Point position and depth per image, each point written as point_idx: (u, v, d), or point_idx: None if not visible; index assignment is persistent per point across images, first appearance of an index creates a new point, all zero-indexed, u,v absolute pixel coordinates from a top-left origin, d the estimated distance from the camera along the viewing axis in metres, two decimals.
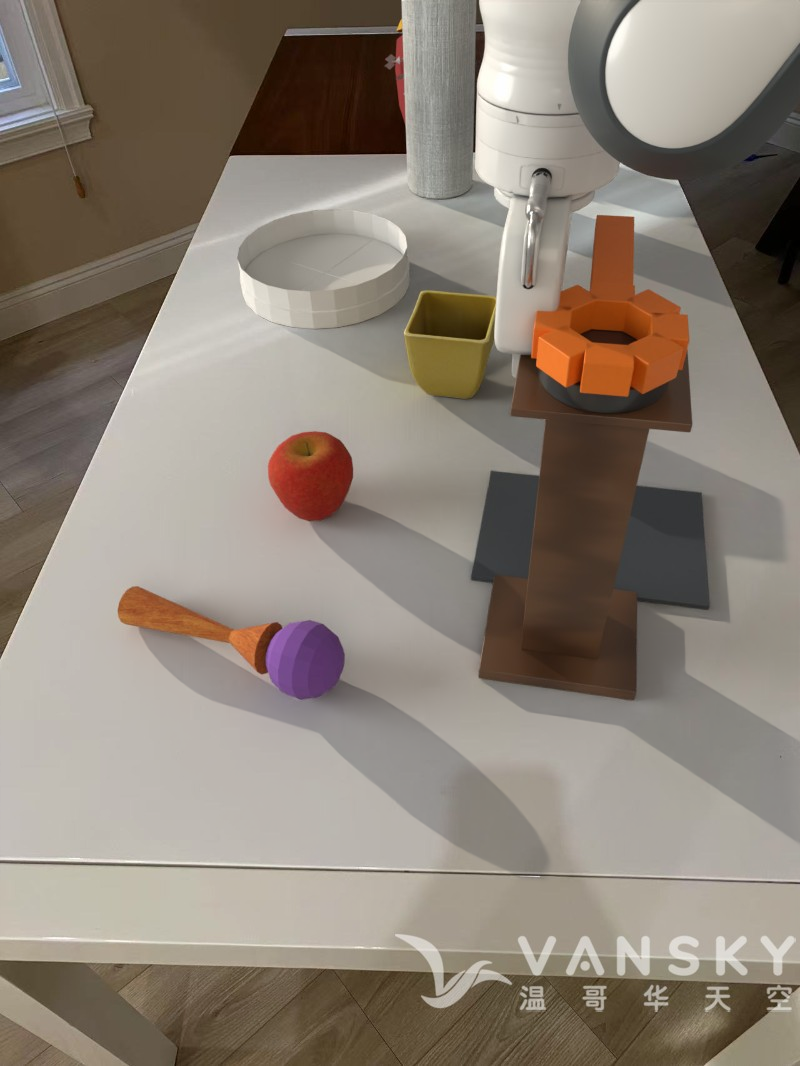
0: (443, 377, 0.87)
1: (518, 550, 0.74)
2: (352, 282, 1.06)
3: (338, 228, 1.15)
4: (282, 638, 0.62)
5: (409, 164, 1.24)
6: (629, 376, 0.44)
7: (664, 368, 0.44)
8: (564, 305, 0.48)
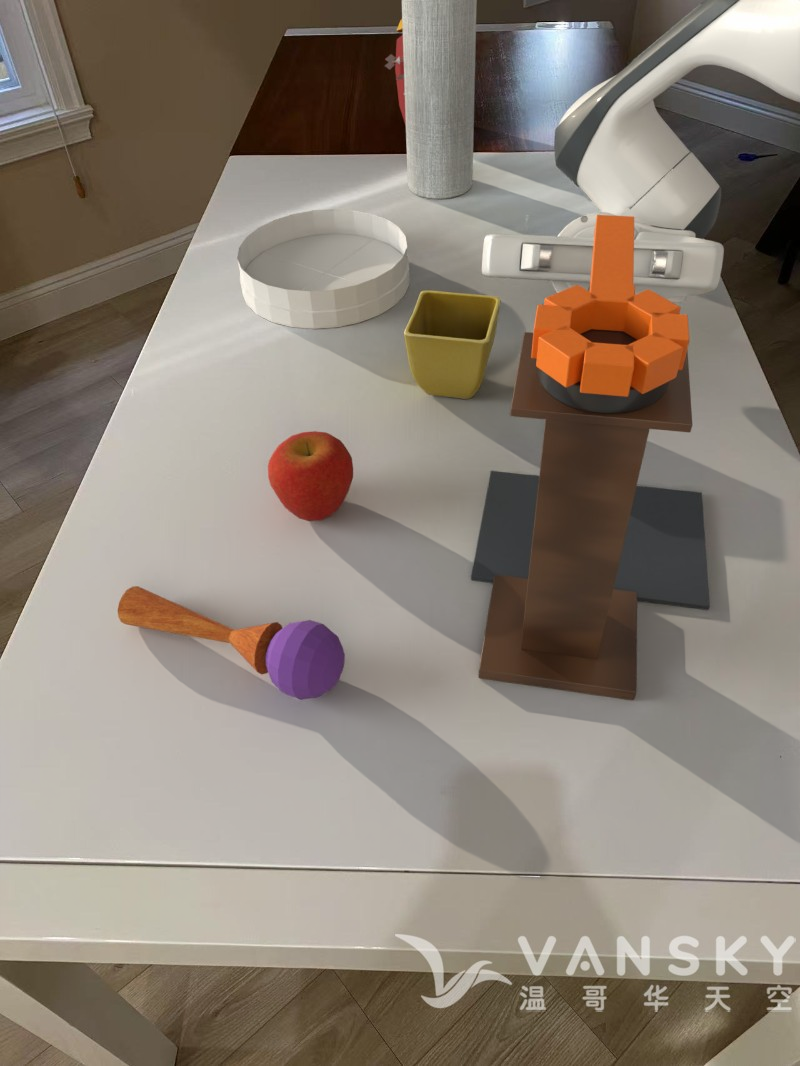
0: (443, 377, 0.87)
1: (518, 550, 0.74)
2: (352, 282, 1.06)
3: (338, 228, 1.15)
4: (282, 638, 0.62)
5: (409, 164, 1.24)
6: (629, 376, 0.44)
7: (664, 368, 0.44)
8: (564, 305, 0.48)
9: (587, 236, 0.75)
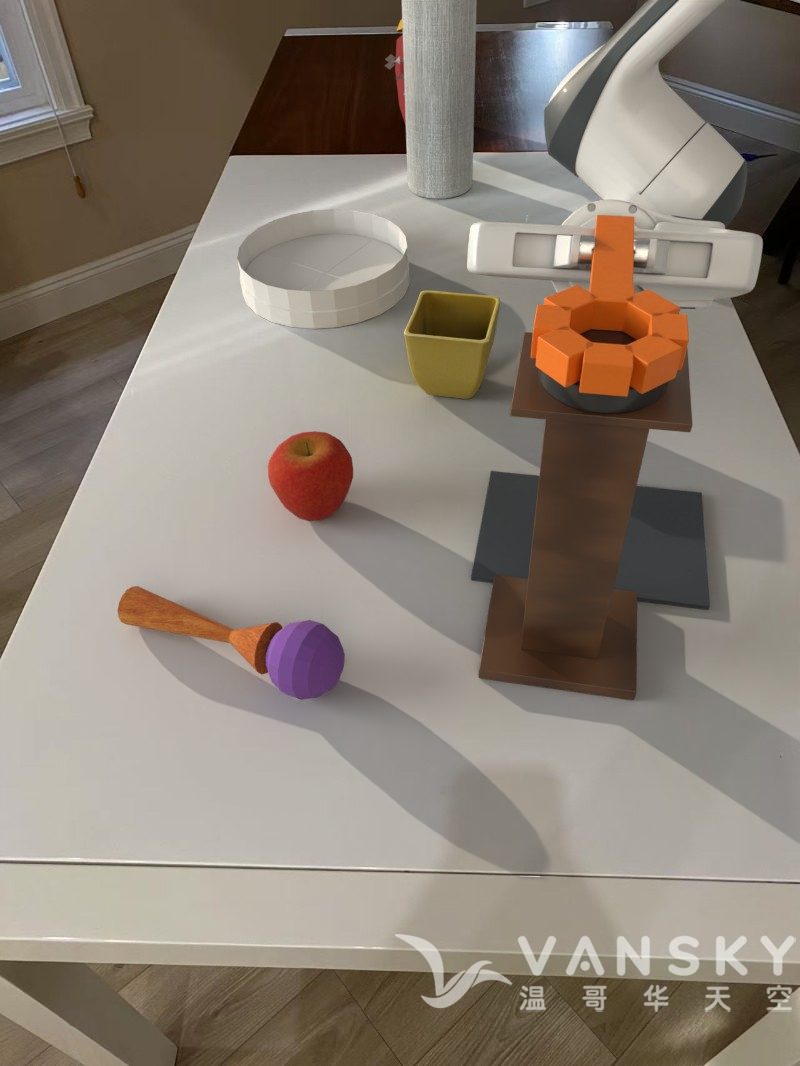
0: (443, 377, 0.87)
1: (518, 550, 0.74)
2: (352, 282, 1.06)
3: (338, 228, 1.15)
4: (282, 638, 0.62)
5: (409, 164, 1.24)
6: (628, 376, 0.44)
7: (663, 368, 0.44)
8: (564, 305, 0.48)
9: None
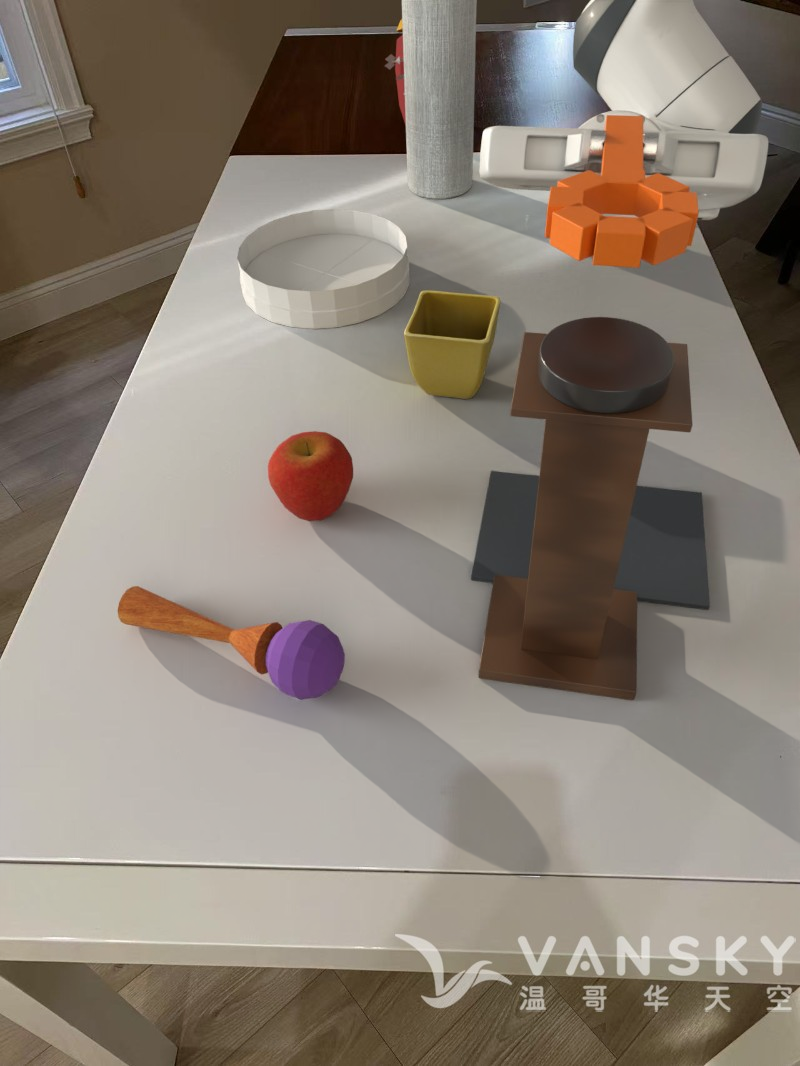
0: (443, 377, 0.87)
1: (518, 550, 0.74)
2: (352, 282, 1.06)
3: (338, 228, 1.15)
4: (282, 638, 0.62)
5: (409, 164, 1.24)
6: (640, 245, 0.45)
7: (674, 239, 0.46)
8: (577, 187, 0.49)
9: None
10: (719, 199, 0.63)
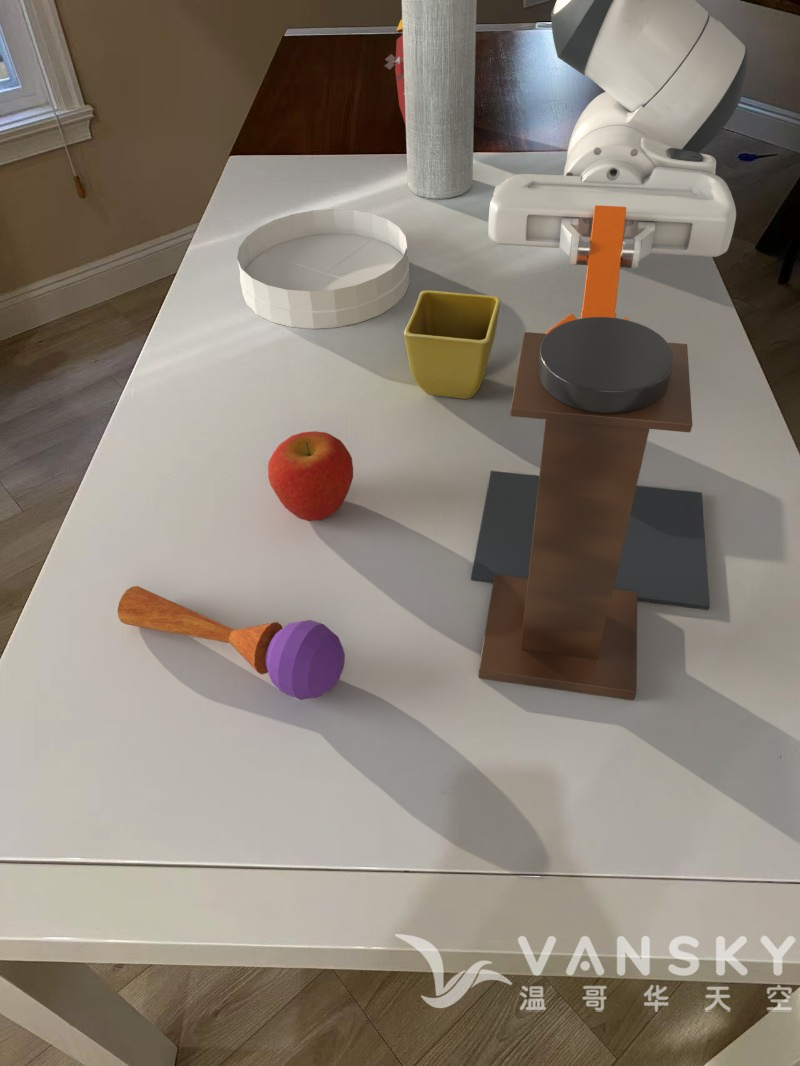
0: (443, 377, 0.87)
1: (518, 550, 0.74)
2: (352, 282, 1.06)
3: (338, 228, 1.15)
4: (282, 638, 0.62)
5: (409, 164, 1.24)
6: None
7: None
8: None
9: (599, 177, 0.72)
10: None
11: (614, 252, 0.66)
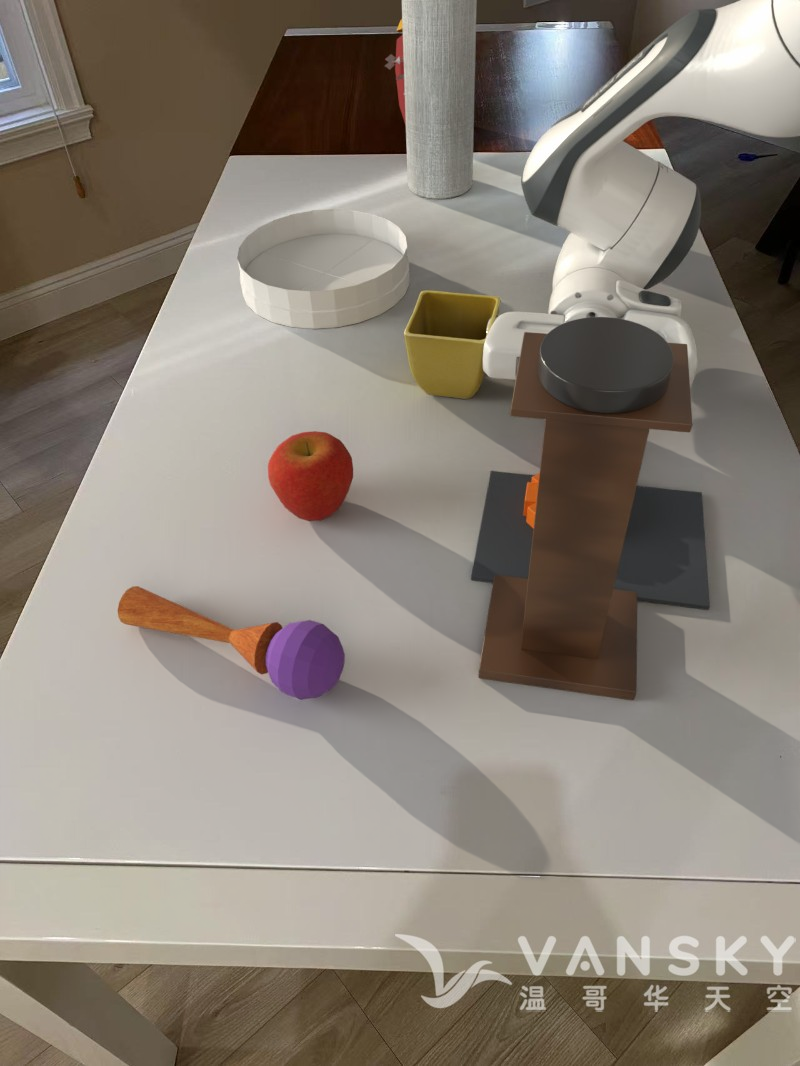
0: (443, 377, 0.87)
1: (518, 550, 0.74)
2: (352, 282, 1.06)
3: (338, 228, 1.15)
4: (282, 638, 0.62)
5: (409, 164, 1.24)
6: None
7: None
8: None
9: None
10: None
11: None
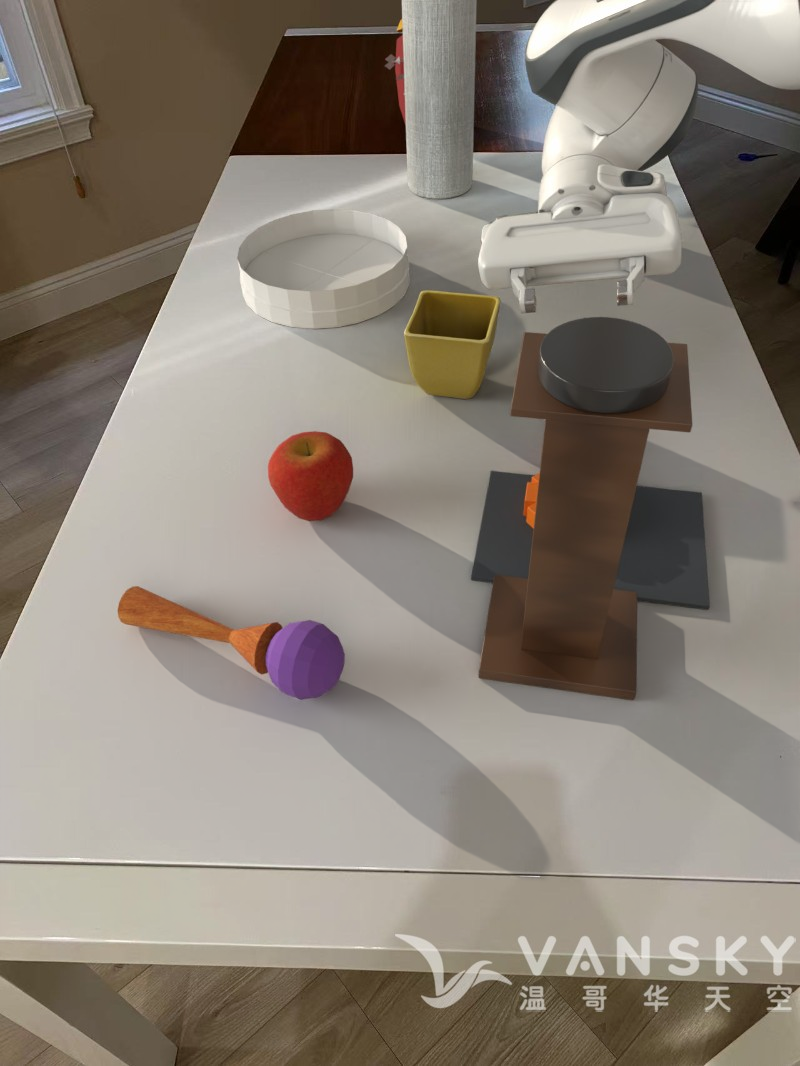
0: (443, 377, 0.87)
1: (518, 550, 0.74)
2: (352, 282, 1.06)
3: (338, 228, 1.15)
4: (282, 638, 0.62)
5: (409, 164, 1.24)
6: None
7: None
8: None
9: (566, 215, 0.85)
10: None
11: None
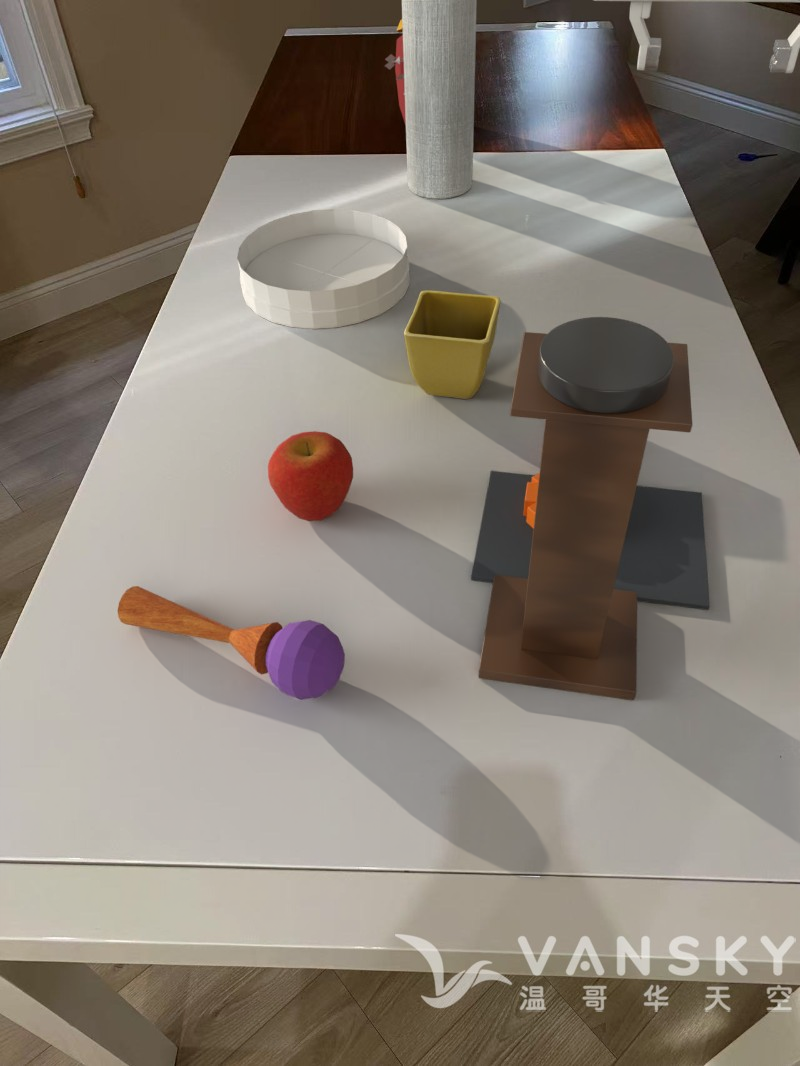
0: (443, 377, 0.87)
1: (518, 550, 0.74)
2: (352, 282, 1.06)
3: (338, 228, 1.15)
4: (282, 638, 0.62)
5: (409, 164, 1.24)
6: None
7: None
8: None
9: None
10: None
11: None
